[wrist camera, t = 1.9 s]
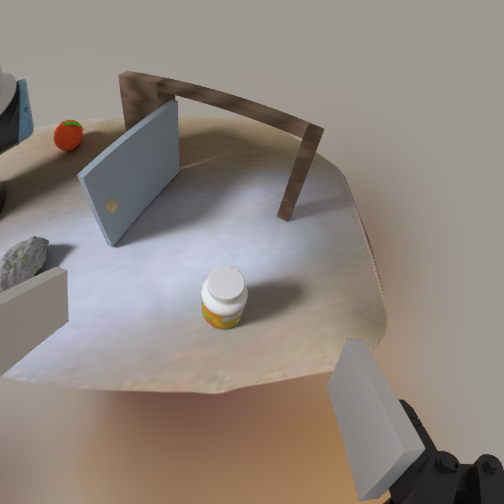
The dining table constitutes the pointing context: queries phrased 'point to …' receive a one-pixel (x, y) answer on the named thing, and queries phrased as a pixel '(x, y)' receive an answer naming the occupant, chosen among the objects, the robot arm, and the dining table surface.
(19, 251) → the mineral specimen
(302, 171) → the door frame
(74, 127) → the clementine
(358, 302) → the dining table surface
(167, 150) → the door
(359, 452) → the robot arm
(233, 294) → the supplement bottle
